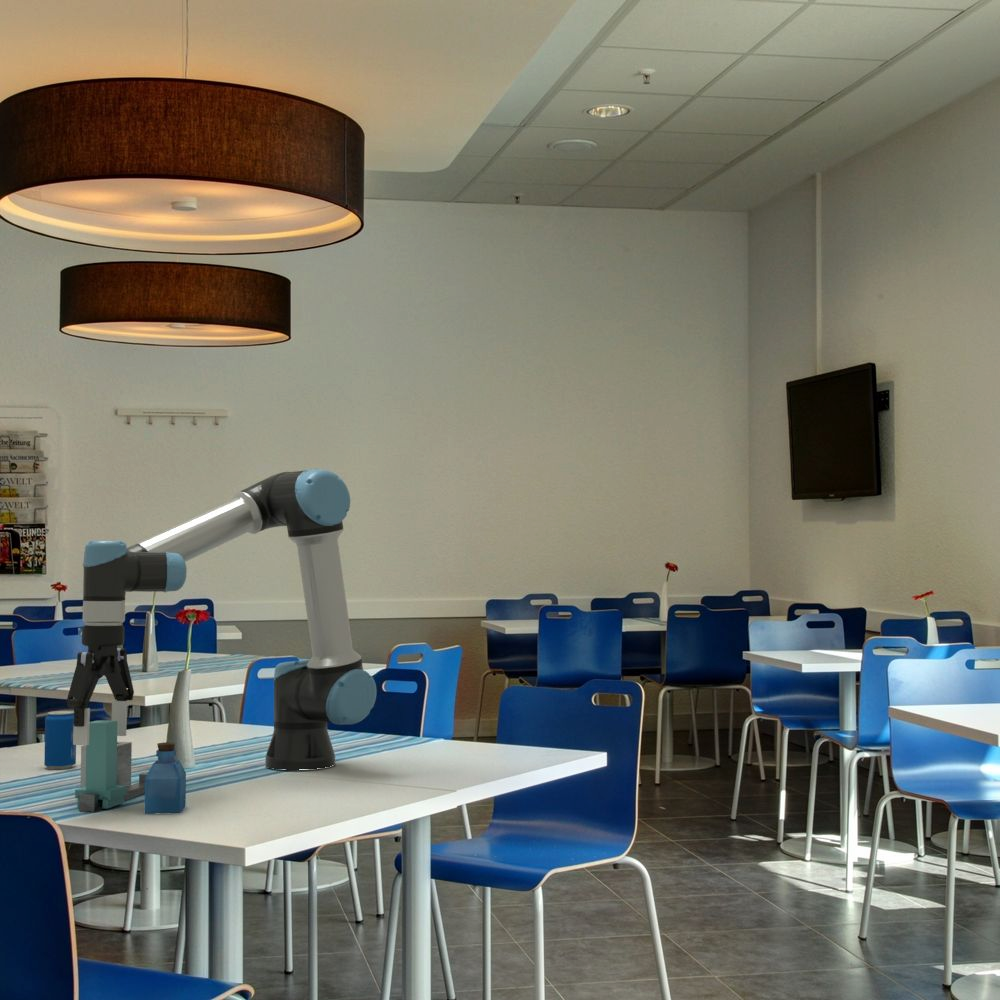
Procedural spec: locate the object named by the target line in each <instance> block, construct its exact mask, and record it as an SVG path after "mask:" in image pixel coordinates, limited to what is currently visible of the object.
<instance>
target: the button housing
mask: <svg viewBox="0 0 1000 1000" xmlns="http://www.w3.org/2000/svg"><path fill="white" fill-rule="evenodd" d="M132 747H133V742H132V741H130V742H129V741H117V785H122V786H129V785H132V752H133V751H132V749H133V748H132ZM85 786H86V745H80V788H82V787H85Z"/></svg>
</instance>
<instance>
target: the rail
mask: <svg viewBox="0 0 1000 1000" xmlns="http://www.w3.org/2000/svg"><path fill="white" fill-rule="evenodd" d="M147 774H148V772H147V773H146V772H141V773H140V774H139V775H138V776H139V778H138V779H139V780H138V782H136V783H135V782H134V783H131V785H129V786H127V794H125V795H124V802H125V801H127V800H130V799H134V798H137V797H138V796H141V795H145V778H146V776H147ZM78 808H79V809H78V811H79V810H80V811H79V812H84V811H91V812H90V813H96V812H99V811H101V810H103V809H105V808H103V799H99V794H96V793H82V794H79V807H78Z"/></svg>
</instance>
